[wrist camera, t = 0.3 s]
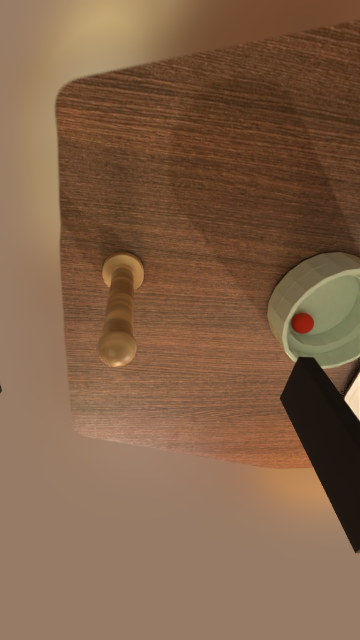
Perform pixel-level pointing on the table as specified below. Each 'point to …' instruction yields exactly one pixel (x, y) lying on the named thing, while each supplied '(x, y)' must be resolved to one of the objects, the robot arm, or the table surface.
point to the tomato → (302, 323)
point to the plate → (354, 395)
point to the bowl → (320, 309)
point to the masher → (120, 308)
